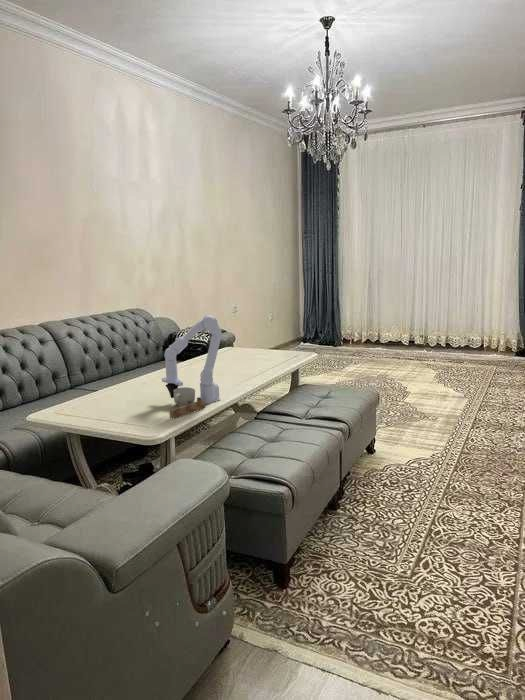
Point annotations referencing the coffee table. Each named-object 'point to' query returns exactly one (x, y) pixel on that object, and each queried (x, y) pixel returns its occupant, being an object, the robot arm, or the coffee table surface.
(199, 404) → the stop rail
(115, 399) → the coffee table surface
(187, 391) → the teacup
